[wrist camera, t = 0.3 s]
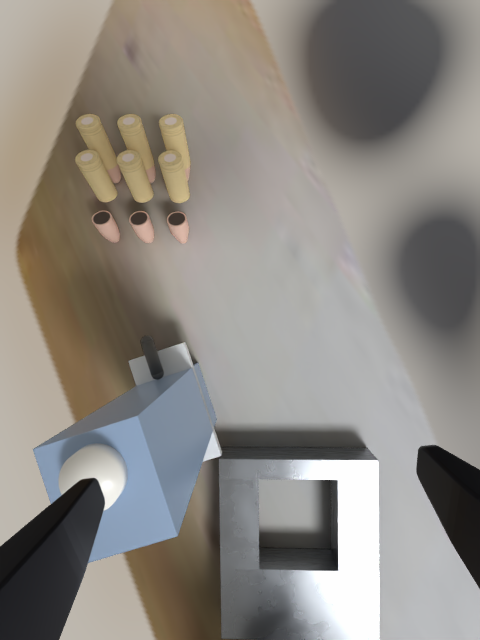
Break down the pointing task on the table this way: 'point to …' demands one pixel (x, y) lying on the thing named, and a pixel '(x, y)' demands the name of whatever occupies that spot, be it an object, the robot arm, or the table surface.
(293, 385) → the table surface
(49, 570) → the robot arm
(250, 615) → the plate
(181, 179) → the ammunition
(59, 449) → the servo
